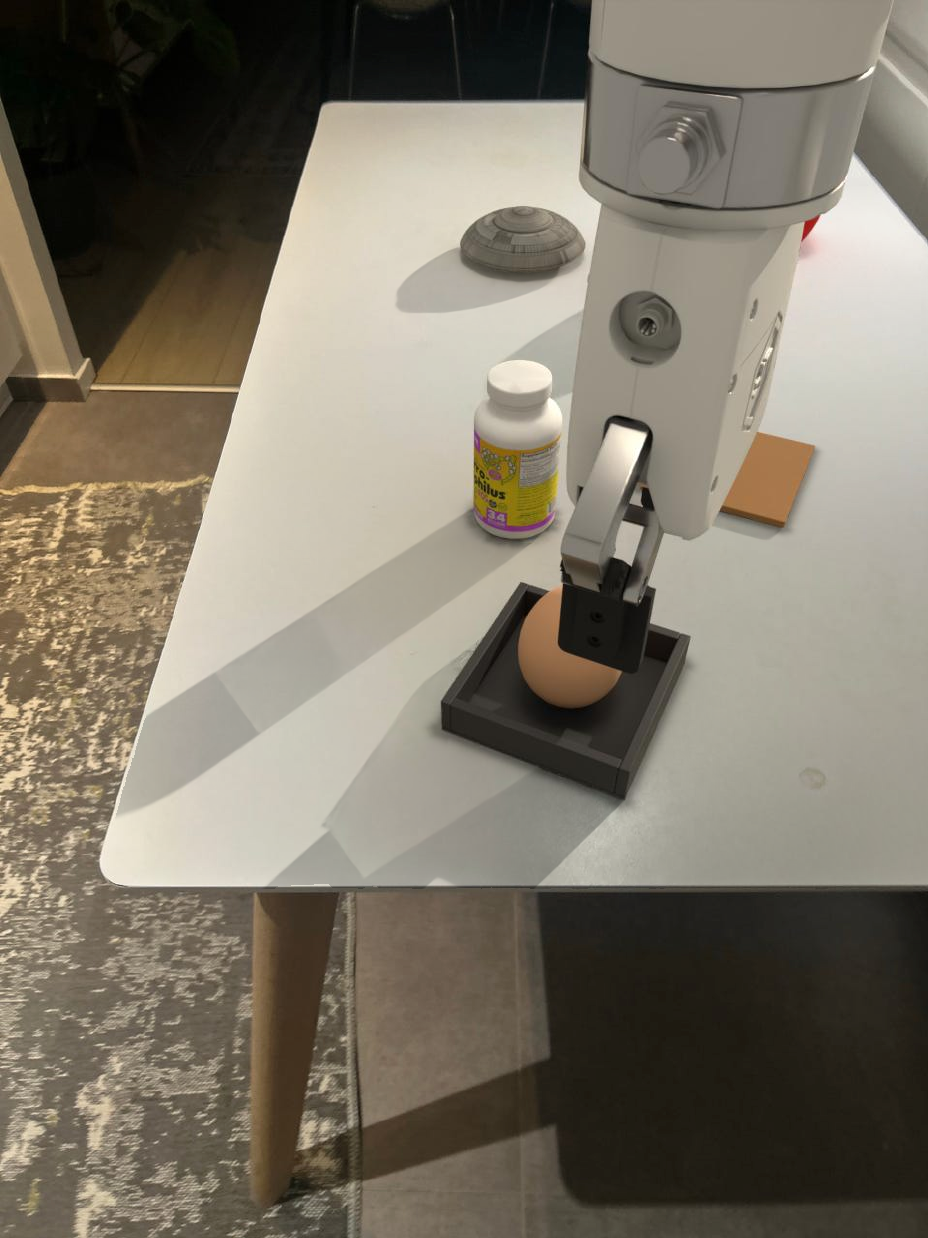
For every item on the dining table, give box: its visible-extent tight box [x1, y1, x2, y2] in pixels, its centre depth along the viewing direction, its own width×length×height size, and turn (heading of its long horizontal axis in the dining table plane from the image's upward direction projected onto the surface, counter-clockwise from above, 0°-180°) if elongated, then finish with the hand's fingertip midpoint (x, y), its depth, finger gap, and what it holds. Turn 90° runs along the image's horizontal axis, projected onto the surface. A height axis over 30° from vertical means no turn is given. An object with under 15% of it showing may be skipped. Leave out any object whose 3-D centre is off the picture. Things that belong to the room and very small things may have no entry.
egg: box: [518, 585, 622, 708], centre depth 58 cm, size 7×7×9 cm
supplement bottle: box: [473, 359, 563, 540], centre depth 70 cm, size 7×7×13 cm
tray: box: [440, 581, 692, 801], centre depth 60 cm, size 12×12×3 cm
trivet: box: [639, 431, 816, 528], centre depth 79 cm, size 12×12×1 cm
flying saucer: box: [459, 205, 586, 273], centre depth 109 cm, size 15×15×6 cm
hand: (640, 579), depth 38 cm, fingers open, 9 cm apart
